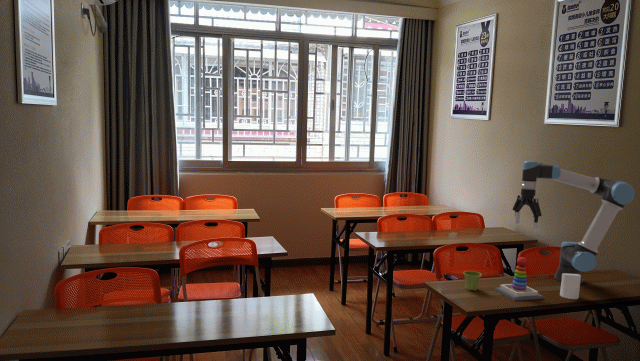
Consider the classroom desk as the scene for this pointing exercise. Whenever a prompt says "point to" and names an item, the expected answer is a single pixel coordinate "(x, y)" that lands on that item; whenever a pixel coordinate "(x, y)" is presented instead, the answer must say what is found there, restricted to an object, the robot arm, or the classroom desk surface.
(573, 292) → the cylinder with rectangular tab
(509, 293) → the board
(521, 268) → the stacking toy
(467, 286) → the plant pot
